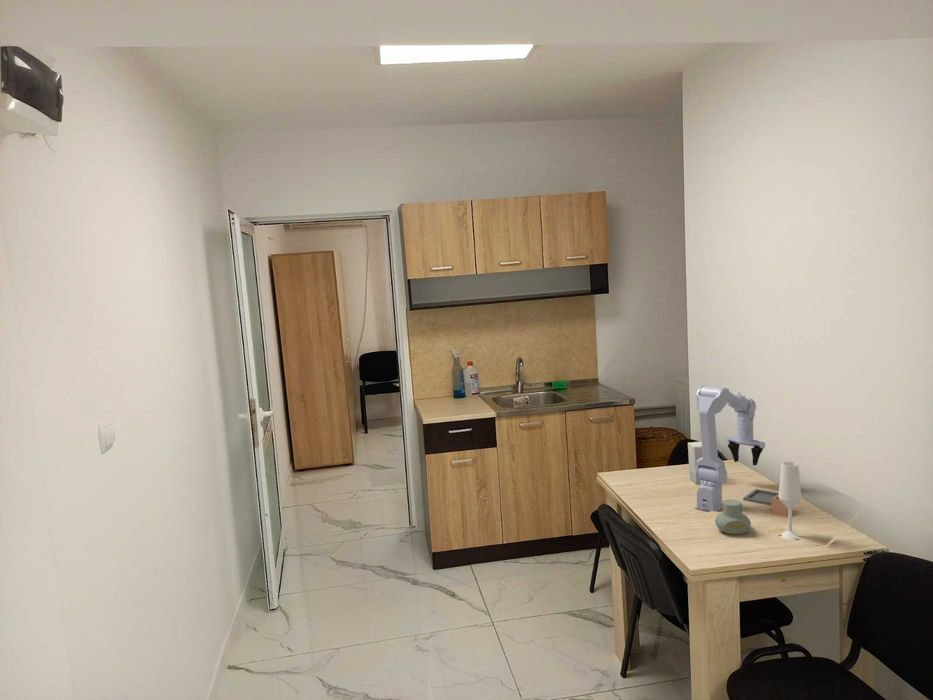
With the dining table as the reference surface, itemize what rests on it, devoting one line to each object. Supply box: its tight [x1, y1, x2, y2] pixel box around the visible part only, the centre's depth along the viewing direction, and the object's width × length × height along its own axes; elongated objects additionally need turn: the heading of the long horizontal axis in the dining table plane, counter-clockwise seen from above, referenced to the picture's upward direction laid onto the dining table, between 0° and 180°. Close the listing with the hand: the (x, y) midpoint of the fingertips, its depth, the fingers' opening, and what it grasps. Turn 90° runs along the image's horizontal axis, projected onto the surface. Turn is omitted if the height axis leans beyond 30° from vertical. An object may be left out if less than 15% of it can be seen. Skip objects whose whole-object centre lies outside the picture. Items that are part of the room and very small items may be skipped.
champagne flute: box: [778, 461, 803, 542], centre depth 211 cm, size 7×7×24 cm
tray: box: [742, 488, 779, 507], centre depth 245 cm, size 12×12×2 cm
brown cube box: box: [770, 495, 788, 516], centre depth 232 cm, size 5×6×5 cm
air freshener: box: [714, 498, 751, 536], centre depth 219 cm, size 11×8×10 cm
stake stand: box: [765, 508, 798, 519], centre depth 232 cm, size 8×8×4 cm
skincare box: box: [687, 441, 703, 485], centre depth 269 cm, size 8×7×16 cm
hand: (745, 463), depth 258 cm, fingers open, 7 cm apart
